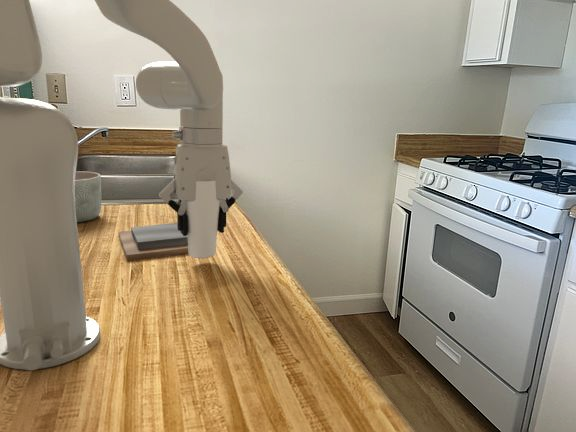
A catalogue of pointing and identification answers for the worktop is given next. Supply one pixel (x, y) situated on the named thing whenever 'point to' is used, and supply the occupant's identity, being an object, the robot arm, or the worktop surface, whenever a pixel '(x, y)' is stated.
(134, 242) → the base
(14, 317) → the robot arm
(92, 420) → the worktop surface
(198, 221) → the drinking glass
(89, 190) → the planter
